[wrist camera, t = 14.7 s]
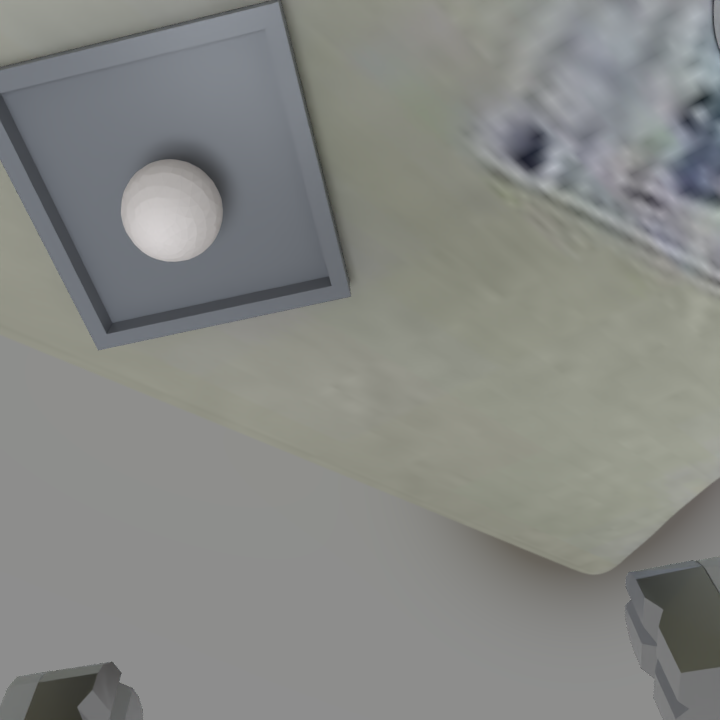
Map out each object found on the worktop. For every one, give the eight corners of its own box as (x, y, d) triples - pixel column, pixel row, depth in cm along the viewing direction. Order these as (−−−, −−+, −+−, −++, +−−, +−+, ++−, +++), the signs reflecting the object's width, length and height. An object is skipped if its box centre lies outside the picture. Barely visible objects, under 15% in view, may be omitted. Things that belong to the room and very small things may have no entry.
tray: (280, -2, 41) (278, 2, 39) (349, 281, 52) (350, 296, 50) (-23, 72, 42) (-41, 80, 40) (106, 333, 53) (98, 350, 51)
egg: (136, 138, 44) (104, 175, 38) (232, 154, 45) (217, 194, 39) (135, 227, 48) (106, 275, 41) (224, 240, 49) (210, 290, 42)
